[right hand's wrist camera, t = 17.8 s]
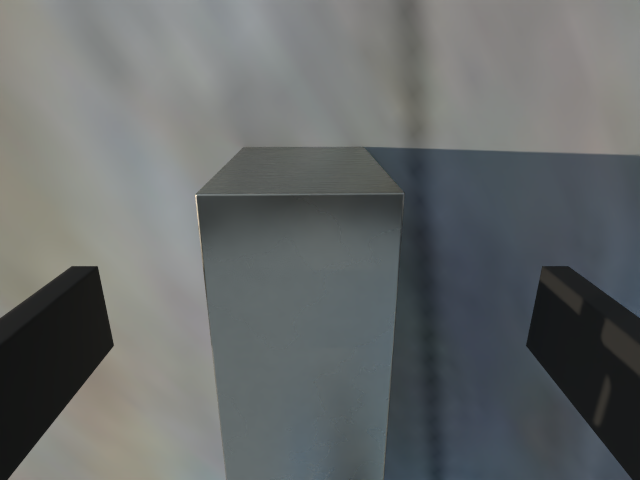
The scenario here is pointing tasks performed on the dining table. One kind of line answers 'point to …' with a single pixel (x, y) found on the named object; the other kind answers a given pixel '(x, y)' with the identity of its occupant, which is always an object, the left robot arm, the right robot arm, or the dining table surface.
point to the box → (302, 309)
